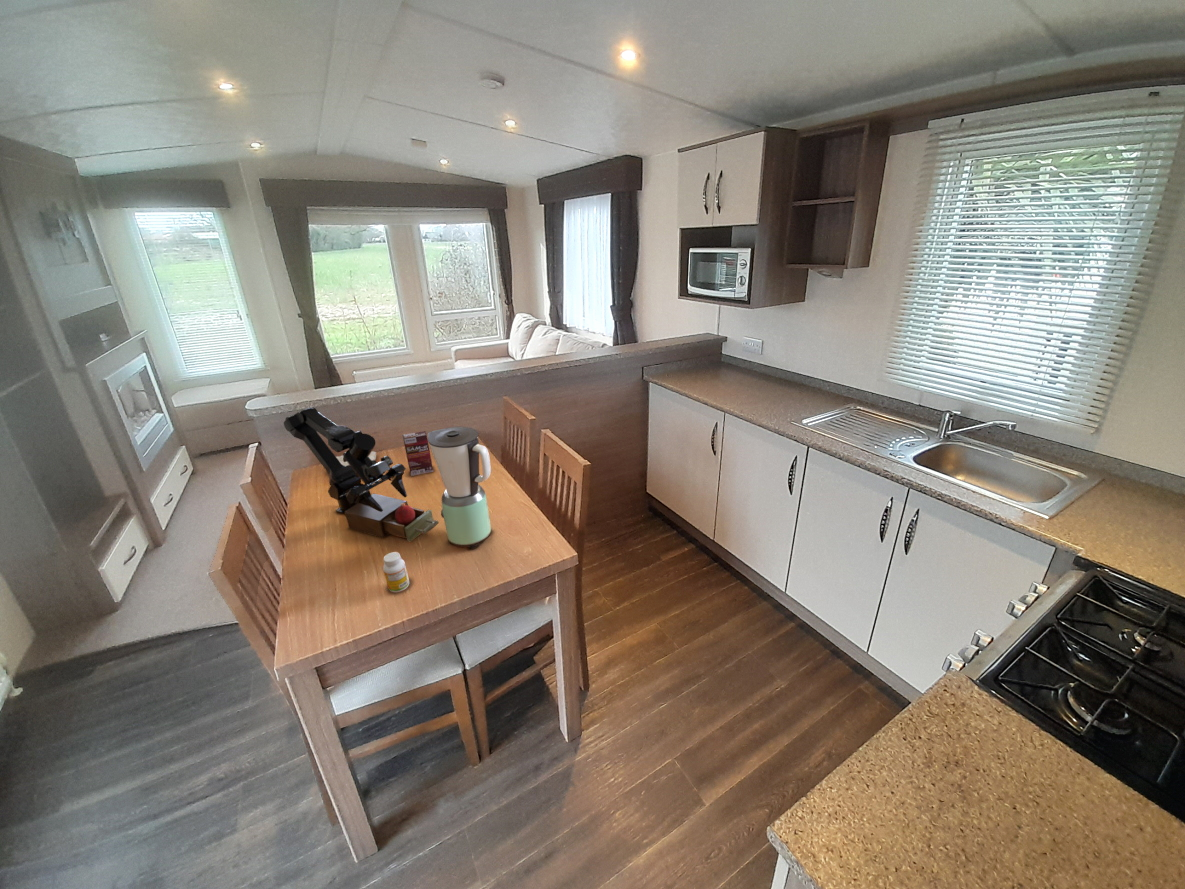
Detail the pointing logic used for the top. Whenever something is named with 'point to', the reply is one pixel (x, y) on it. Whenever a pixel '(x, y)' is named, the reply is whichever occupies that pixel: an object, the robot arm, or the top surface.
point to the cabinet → (372, 515)
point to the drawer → (410, 525)
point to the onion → (405, 514)
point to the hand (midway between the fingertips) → (394, 503)
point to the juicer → (462, 484)
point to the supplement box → (418, 453)
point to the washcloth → (340, 458)
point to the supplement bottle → (395, 572)
